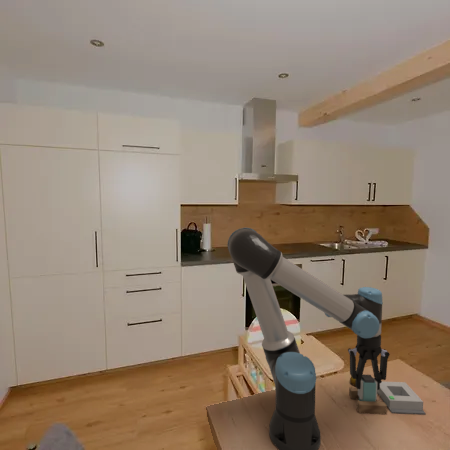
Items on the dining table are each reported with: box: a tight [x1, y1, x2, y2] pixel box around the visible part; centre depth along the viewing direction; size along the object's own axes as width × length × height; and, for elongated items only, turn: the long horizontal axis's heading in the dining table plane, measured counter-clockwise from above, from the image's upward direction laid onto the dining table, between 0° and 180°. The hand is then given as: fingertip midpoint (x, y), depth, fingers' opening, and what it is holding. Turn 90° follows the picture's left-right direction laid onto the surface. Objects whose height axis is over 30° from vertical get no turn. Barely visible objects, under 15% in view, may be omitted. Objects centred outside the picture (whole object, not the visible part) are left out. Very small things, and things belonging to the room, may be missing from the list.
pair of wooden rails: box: [348, 387, 388, 415], centre depth 102 cm, size 9×9×3 cm
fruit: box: [349, 375, 357, 388], centre depth 114 cm, size 8×8×4 cm
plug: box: [358, 373, 377, 402], centre depth 102 cm, size 4×4×10 cm
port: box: [377, 380, 427, 416], centre depth 105 cm, size 11×14×4 cm
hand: (367, 397), depth 102 cm, fingers closed on plug, 4 cm apart
